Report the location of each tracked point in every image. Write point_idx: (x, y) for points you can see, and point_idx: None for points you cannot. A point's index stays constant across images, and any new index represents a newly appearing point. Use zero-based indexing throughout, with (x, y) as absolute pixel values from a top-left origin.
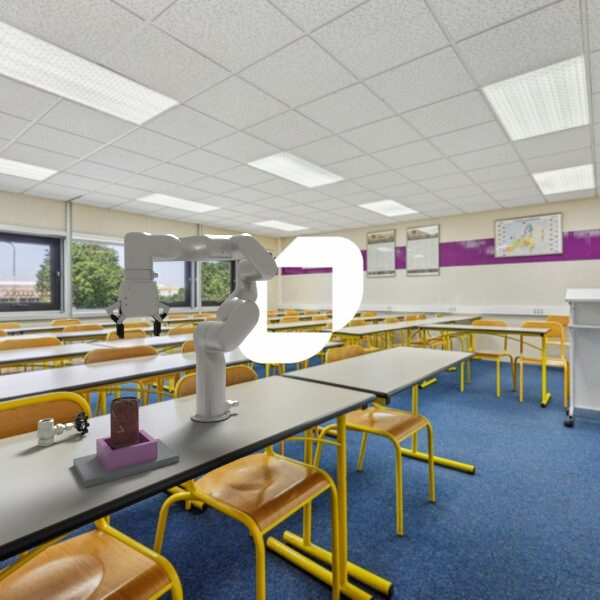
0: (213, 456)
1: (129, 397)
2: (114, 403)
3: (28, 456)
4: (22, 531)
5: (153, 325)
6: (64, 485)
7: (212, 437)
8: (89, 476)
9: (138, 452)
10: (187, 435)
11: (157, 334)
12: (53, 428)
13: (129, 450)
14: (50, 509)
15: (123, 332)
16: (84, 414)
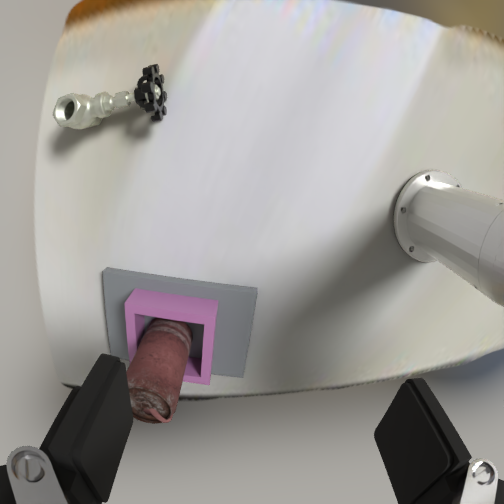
0: (289, 386)
1: (160, 395)
2: None
3: (60, 165)
4: (66, 378)
5: (438, 442)
6: (93, 324)
7: (346, 326)
8: (116, 349)
9: None
10: (325, 285)
11: (379, 441)
12: (86, 119)
13: None
14: (82, 364)
15: (117, 453)
16: (150, 92)
